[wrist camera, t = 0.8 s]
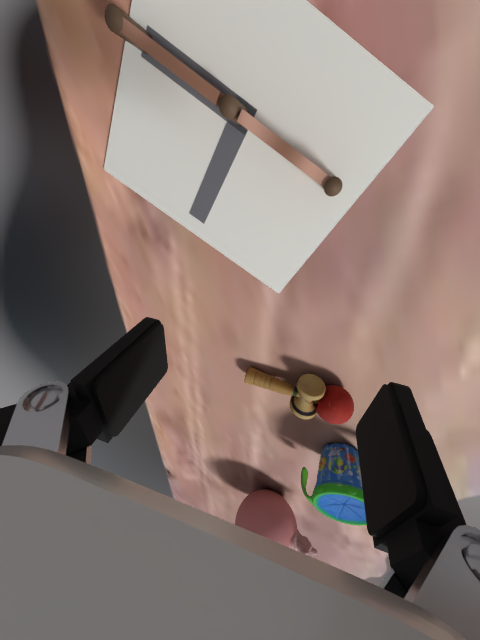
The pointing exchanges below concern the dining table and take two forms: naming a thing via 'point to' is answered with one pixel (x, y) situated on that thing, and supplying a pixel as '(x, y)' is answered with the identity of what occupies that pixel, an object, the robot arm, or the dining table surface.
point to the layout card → (269, 109)
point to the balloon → (272, 520)
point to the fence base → (170, 61)
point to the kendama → (308, 396)
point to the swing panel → (291, 154)
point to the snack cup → (338, 485)
